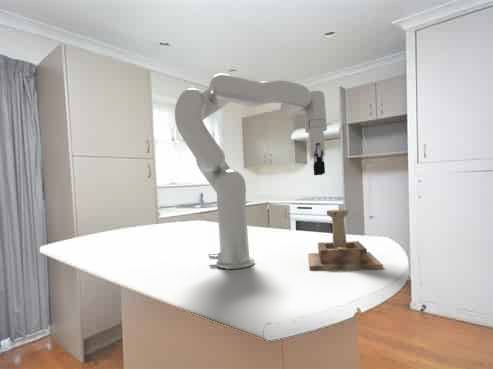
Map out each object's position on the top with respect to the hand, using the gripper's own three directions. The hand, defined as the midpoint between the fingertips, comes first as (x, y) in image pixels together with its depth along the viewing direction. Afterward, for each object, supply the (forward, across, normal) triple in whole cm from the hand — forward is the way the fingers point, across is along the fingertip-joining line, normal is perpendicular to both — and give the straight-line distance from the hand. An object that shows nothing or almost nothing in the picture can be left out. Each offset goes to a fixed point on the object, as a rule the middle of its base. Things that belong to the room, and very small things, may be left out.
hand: (319, 174), depth 103 cm
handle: (+27, +12, +4) cm, 30 cm away
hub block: (+28, +12, +4) cm, 31 cm away
